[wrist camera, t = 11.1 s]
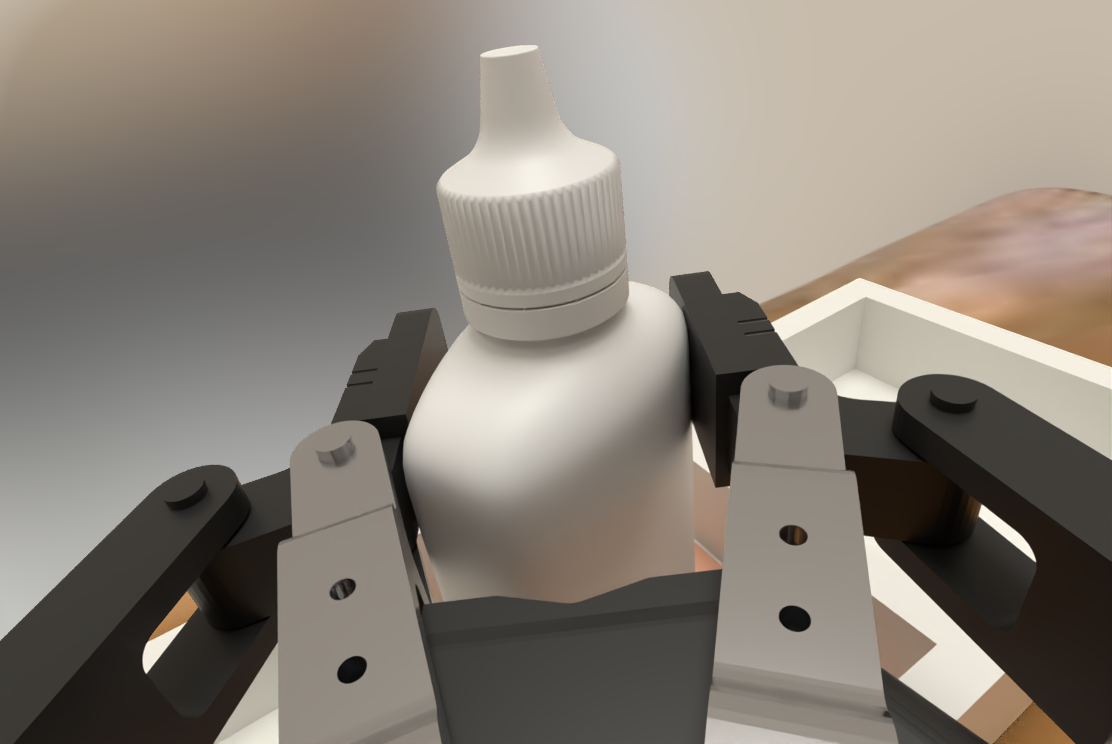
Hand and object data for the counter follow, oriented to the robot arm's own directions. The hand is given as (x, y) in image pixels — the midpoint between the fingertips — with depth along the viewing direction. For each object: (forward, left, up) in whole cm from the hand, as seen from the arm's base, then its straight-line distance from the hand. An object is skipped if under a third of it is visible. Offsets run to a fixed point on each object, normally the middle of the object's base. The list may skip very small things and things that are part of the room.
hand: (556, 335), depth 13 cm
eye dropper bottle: (0, +3, -7) cm, 7 cm away
